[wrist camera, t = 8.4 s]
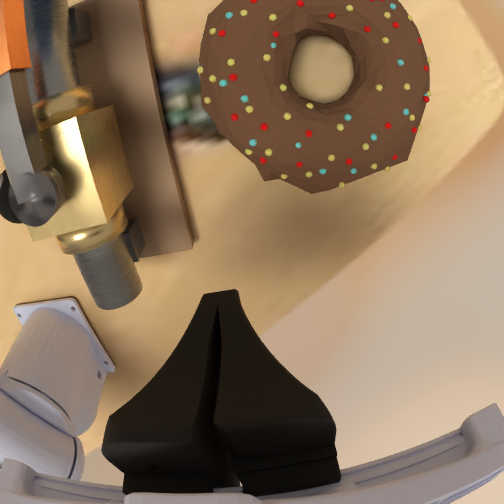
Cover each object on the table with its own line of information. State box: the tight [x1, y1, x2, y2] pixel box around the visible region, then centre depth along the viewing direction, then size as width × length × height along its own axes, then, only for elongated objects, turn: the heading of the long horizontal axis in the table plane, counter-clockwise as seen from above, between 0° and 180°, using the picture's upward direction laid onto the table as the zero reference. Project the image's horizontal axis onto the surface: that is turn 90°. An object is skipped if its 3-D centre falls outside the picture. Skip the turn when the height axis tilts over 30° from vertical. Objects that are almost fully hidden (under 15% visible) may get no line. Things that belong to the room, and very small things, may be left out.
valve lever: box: [0, 0, 66, 227], centre depth 9 cm, size 11×2×2 cm, turn 9°
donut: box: [197, 0, 431, 194], centre depth 16 cm, size 14×14×5 cm
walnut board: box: [68, 0, 194, 258], centre depth 18 cm, size 18×9×1 cm, turn 9°
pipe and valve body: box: [0, 0, 145, 310], centre depth 14 cm, size 18×5×6 cm, turn 9°
